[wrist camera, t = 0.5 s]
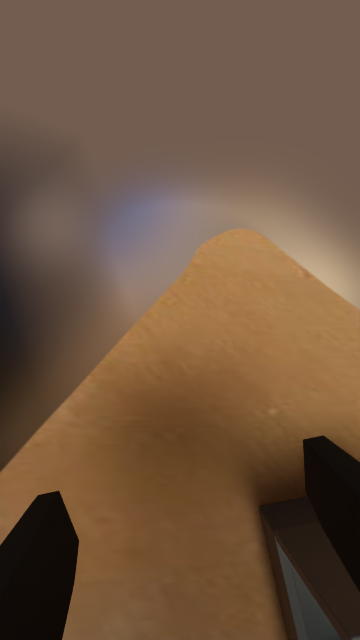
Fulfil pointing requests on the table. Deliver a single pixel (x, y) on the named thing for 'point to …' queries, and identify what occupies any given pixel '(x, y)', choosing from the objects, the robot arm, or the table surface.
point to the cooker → (294, 574)
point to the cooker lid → (323, 576)
